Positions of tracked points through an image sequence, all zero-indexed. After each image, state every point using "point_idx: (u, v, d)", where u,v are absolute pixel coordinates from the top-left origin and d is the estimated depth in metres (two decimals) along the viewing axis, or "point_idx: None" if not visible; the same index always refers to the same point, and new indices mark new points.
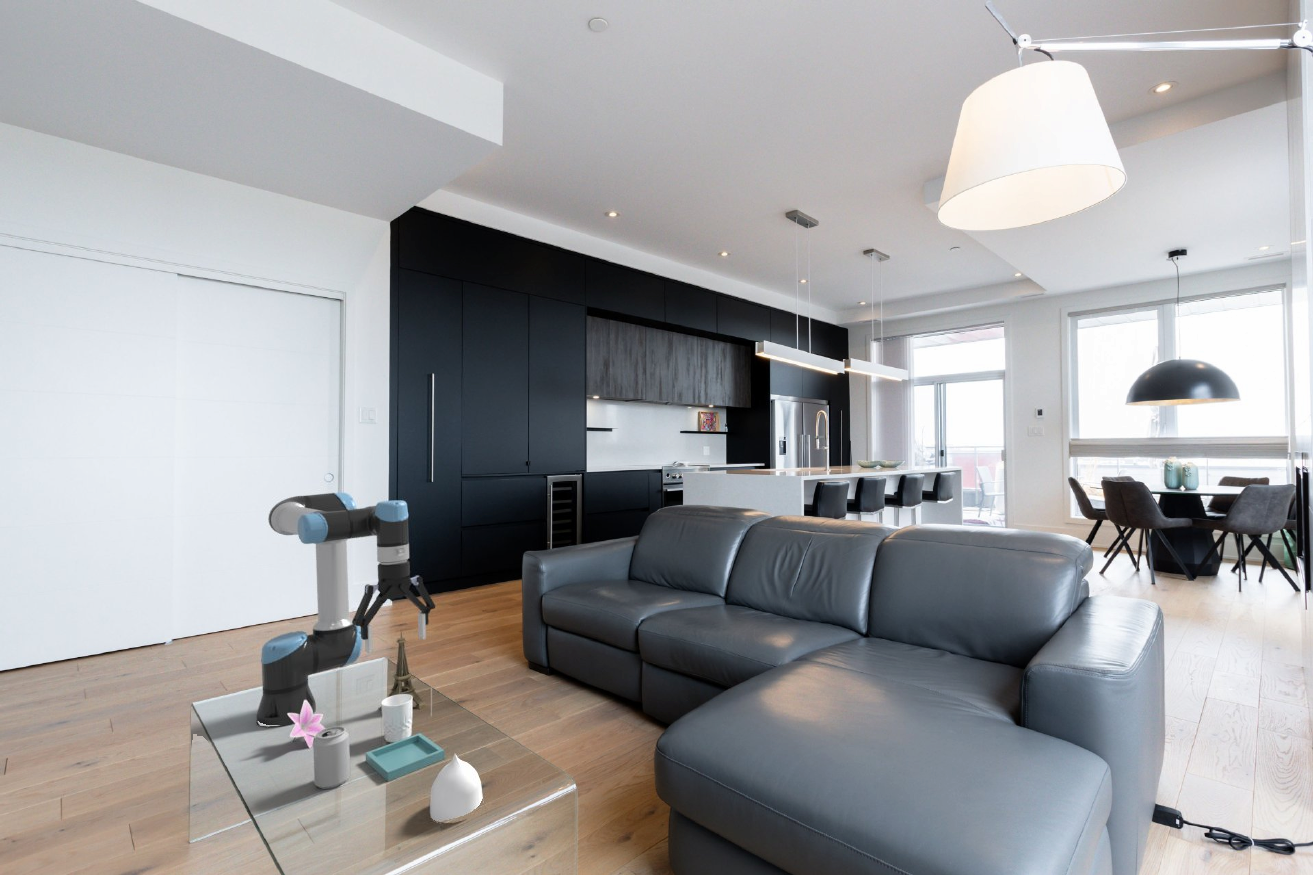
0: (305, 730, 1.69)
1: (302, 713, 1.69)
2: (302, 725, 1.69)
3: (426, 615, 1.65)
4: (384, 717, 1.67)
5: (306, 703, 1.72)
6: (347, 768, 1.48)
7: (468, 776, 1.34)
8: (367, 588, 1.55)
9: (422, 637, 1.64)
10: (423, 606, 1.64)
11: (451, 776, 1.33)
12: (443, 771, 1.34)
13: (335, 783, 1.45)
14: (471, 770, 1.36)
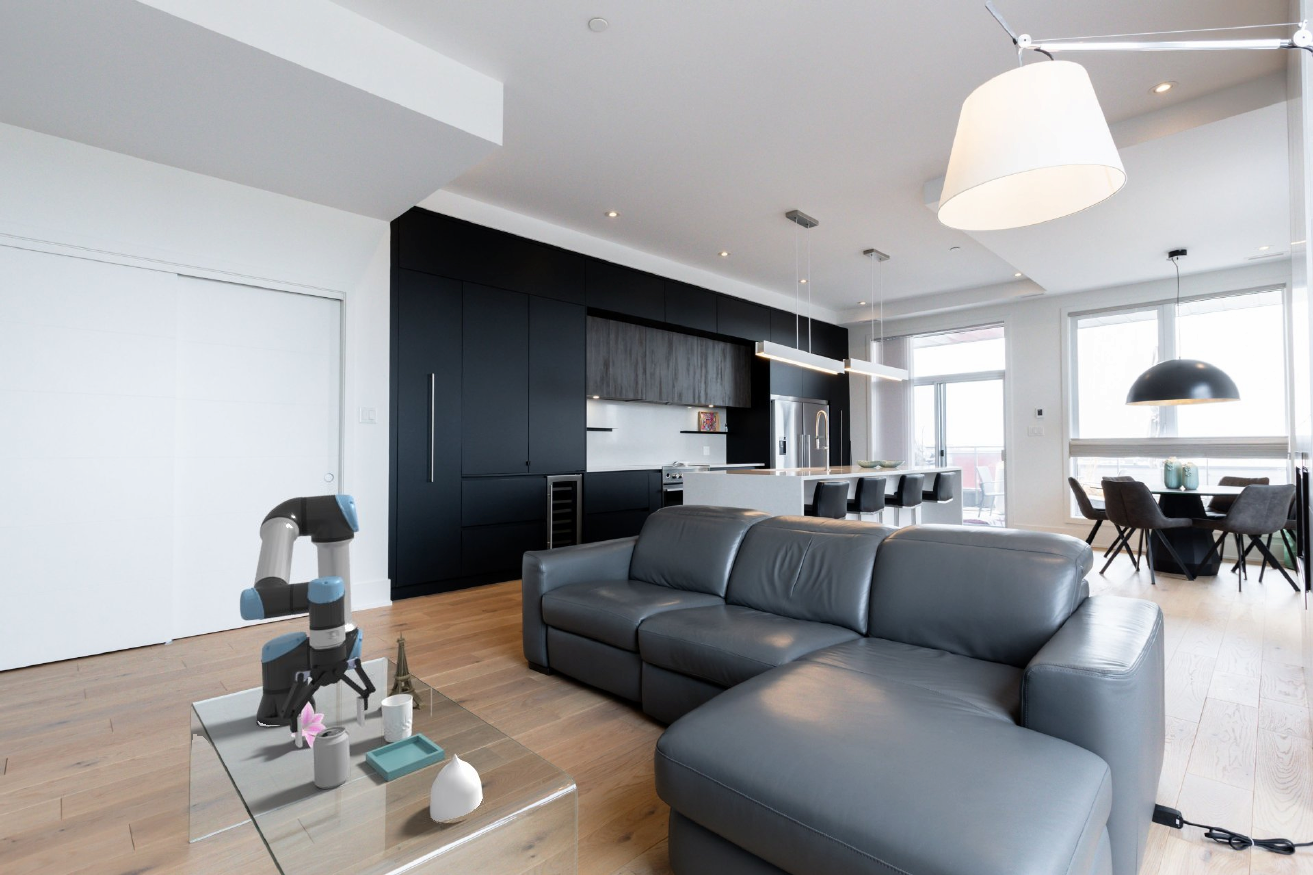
0: (306, 730, 1.69)
1: (303, 712, 1.69)
2: (303, 725, 1.69)
3: (365, 700, 1.53)
4: (384, 717, 1.67)
5: (307, 703, 1.72)
6: (347, 768, 1.48)
7: (468, 776, 1.34)
8: (297, 676, 1.43)
9: (360, 724, 1.51)
10: (362, 690, 1.52)
11: (451, 776, 1.33)
12: (443, 771, 1.34)
13: (335, 783, 1.45)
14: (471, 770, 1.36)
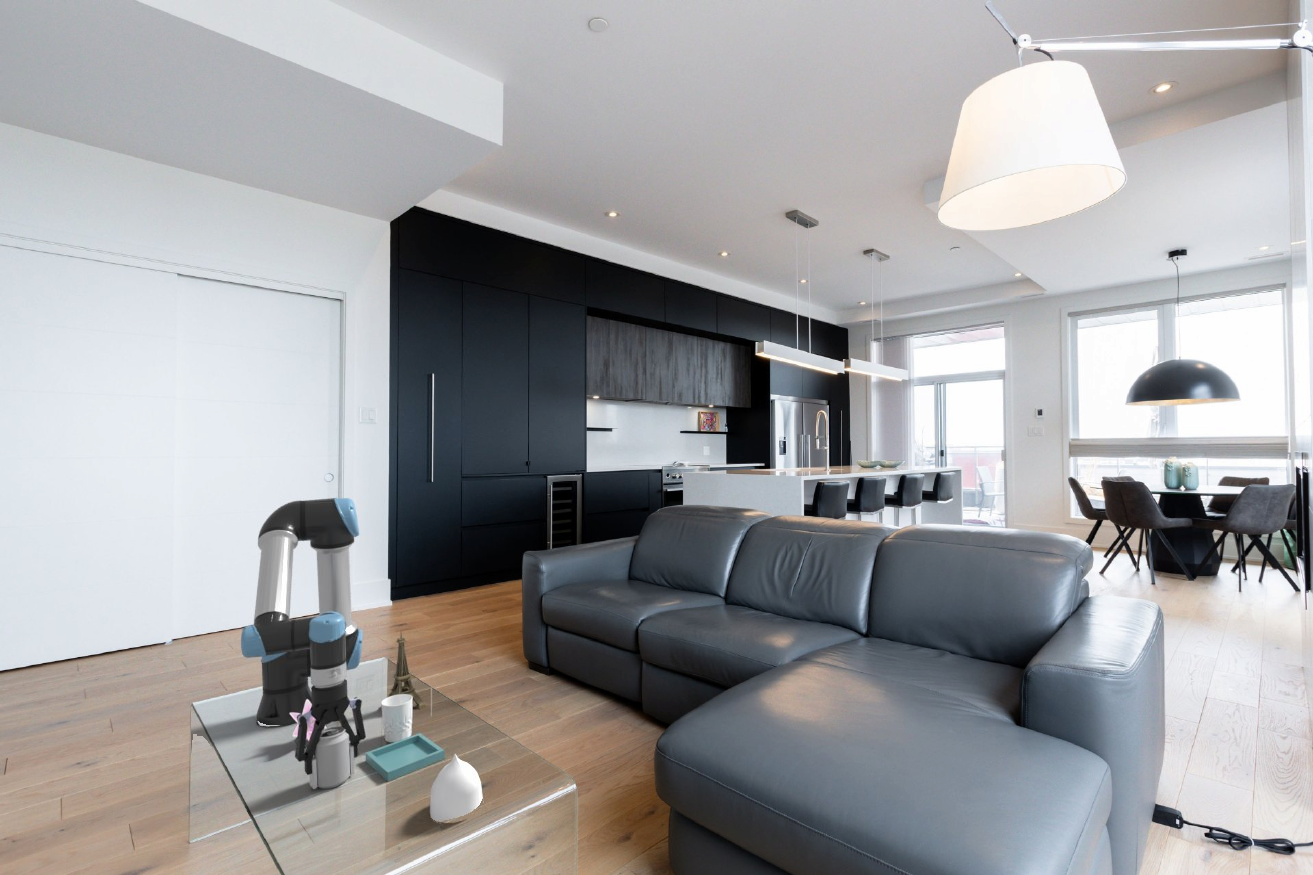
0: (307, 730, 1.69)
1: (304, 712, 1.69)
2: None
3: (355, 747, 1.51)
4: (384, 717, 1.67)
5: (308, 703, 1.72)
6: (347, 768, 1.48)
7: (468, 776, 1.34)
8: (299, 720, 1.43)
9: (350, 772, 1.50)
10: (353, 736, 1.50)
11: (451, 776, 1.33)
12: (443, 771, 1.34)
13: (335, 783, 1.45)
14: (471, 770, 1.36)
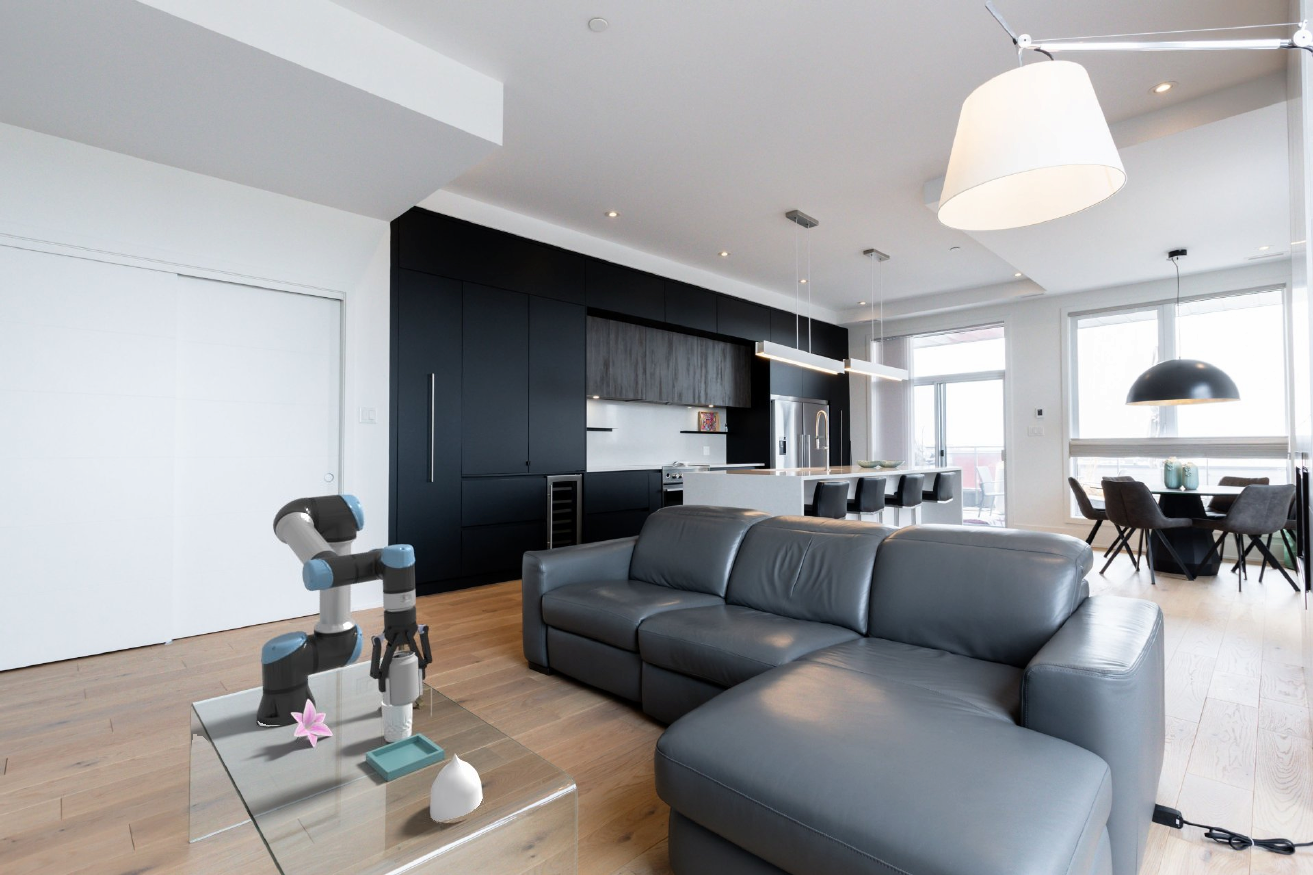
0: (308, 729, 1.69)
1: (305, 712, 1.69)
2: (305, 724, 1.69)
3: (423, 670, 1.60)
4: (384, 717, 1.67)
5: (309, 703, 1.72)
6: (417, 688, 1.57)
7: (468, 776, 1.34)
8: (374, 641, 1.52)
9: (419, 693, 1.59)
10: (421, 660, 1.59)
11: (451, 776, 1.33)
12: (443, 771, 1.34)
13: (407, 701, 1.54)
14: (471, 770, 1.36)
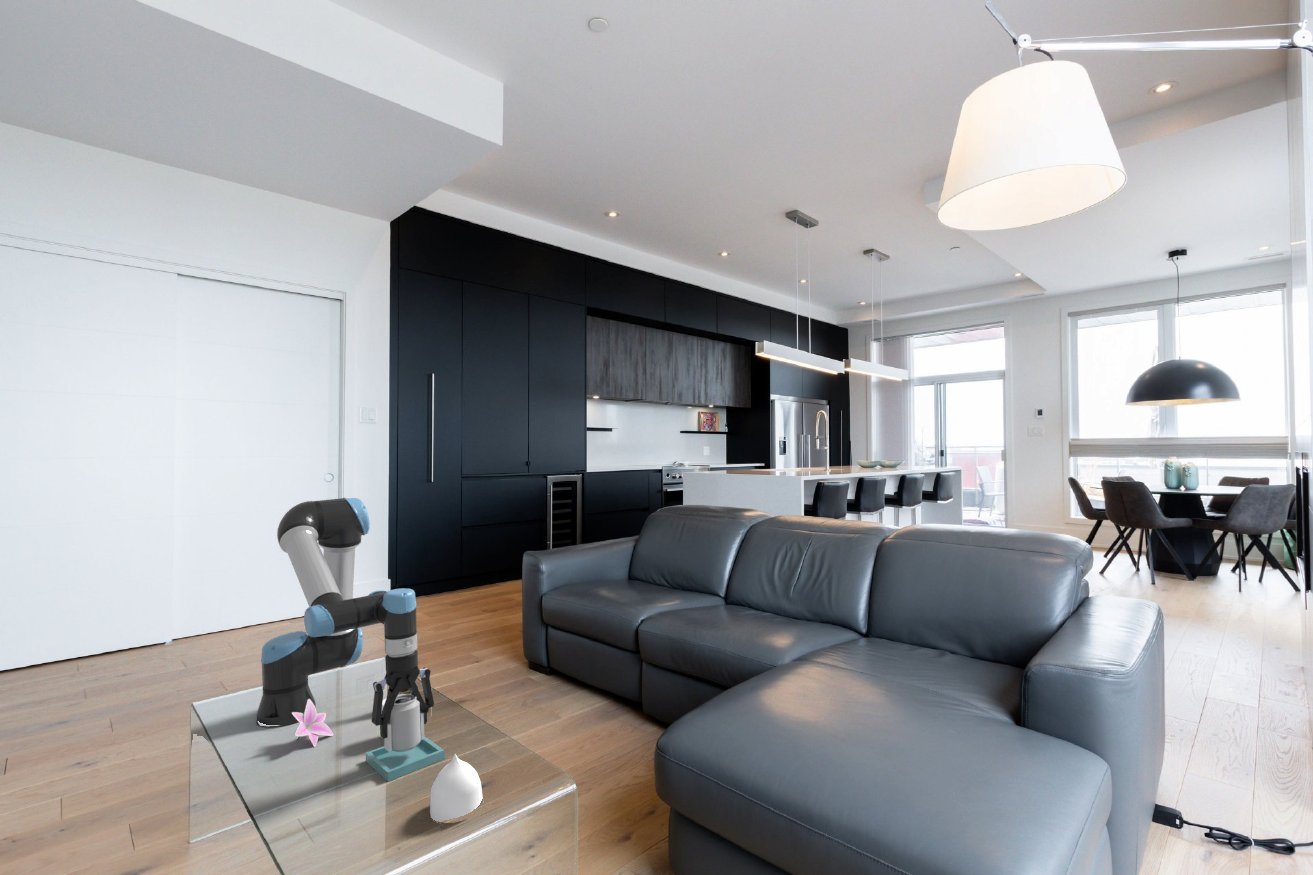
0: (309, 729, 1.69)
1: (306, 712, 1.69)
2: (306, 724, 1.69)
3: (424, 714, 1.60)
4: None
5: (310, 702, 1.72)
6: (419, 733, 1.57)
7: (468, 776, 1.34)
8: (375, 687, 1.52)
9: None
10: (423, 704, 1.59)
11: (451, 776, 1.33)
12: (443, 771, 1.34)
13: (409, 747, 1.54)
14: (471, 770, 1.36)
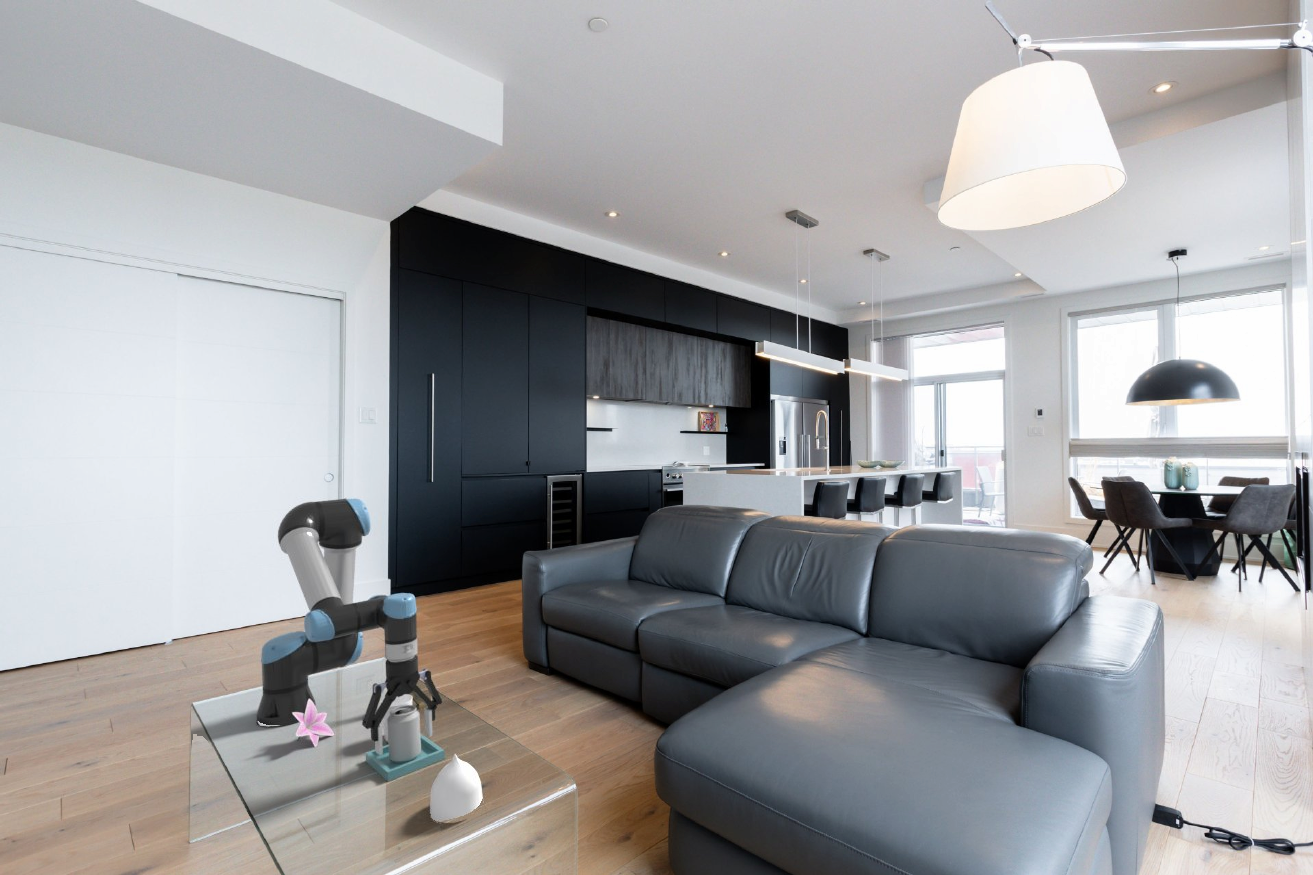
0: (310, 729, 1.69)
1: (306, 712, 1.70)
2: (307, 724, 1.70)
3: (433, 711, 1.62)
4: (384, 717, 1.67)
5: (310, 702, 1.72)
6: (419, 744, 1.57)
7: (468, 776, 1.34)
8: (375, 688, 1.52)
9: (429, 734, 1.61)
10: (430, 702, 1.61)
11: (451, 776, 1.33)
12: (443, 771, 1.34)
13: (409, 758, 1.54)
14: (471, 770, 1.36)
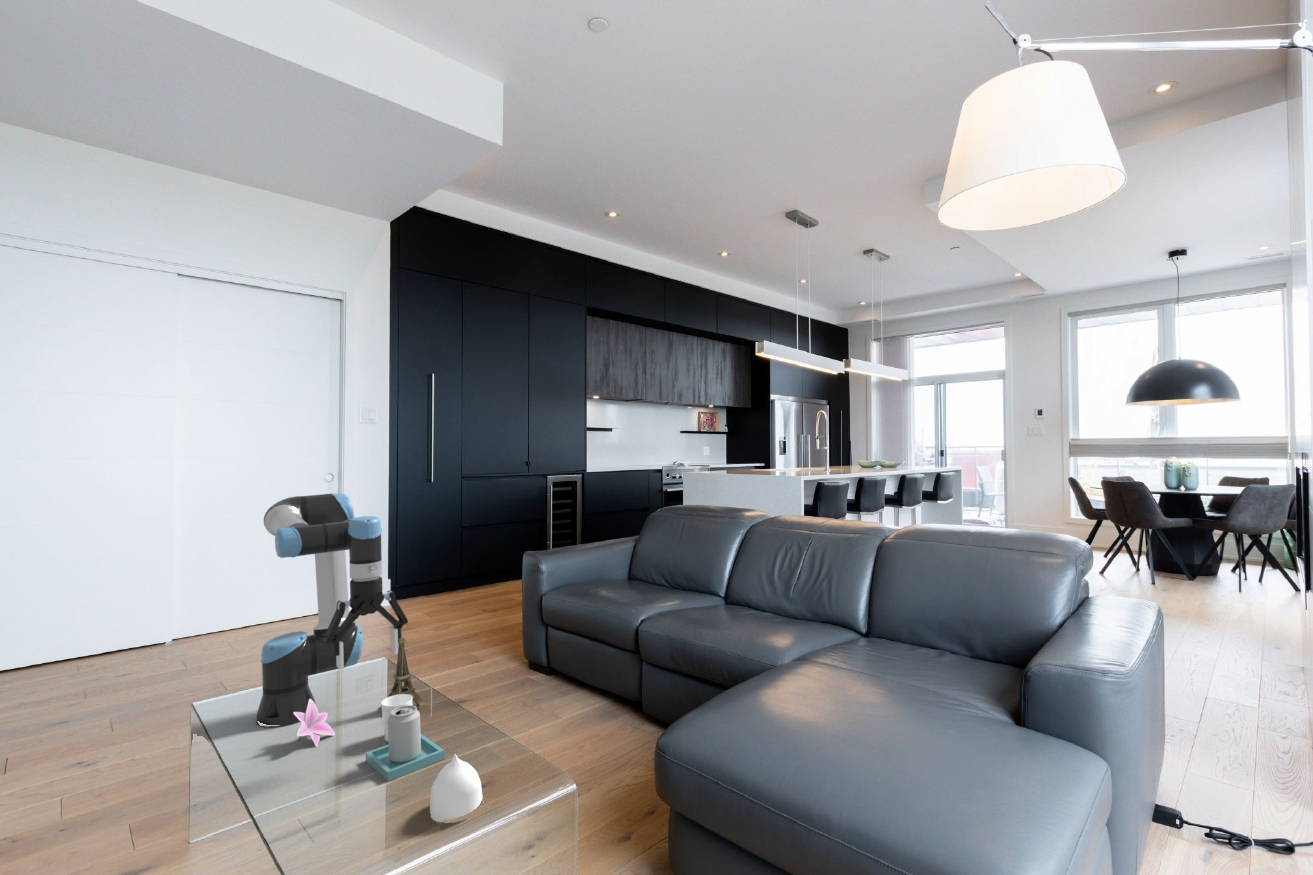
0: (311, 729, 1.69)
1: (307, 712, 1.70)
2: (308, 724, 1.70)
3: (398, 630, 1.66)
4: (384, 717, 1.67)
5: (311, 702, 1.72)
6: (419, 744, 1.57)
7: (468, 776, 1.34)
8: (339, 605, 1.55)
9: (394, 652, 1.65)
10: (395, 621, 1.65)
11: (451, 776, 1.33)
12: (443, 771, 1.34)
13: (409, 758, 1.54)
14: (471, 770, 1.36)
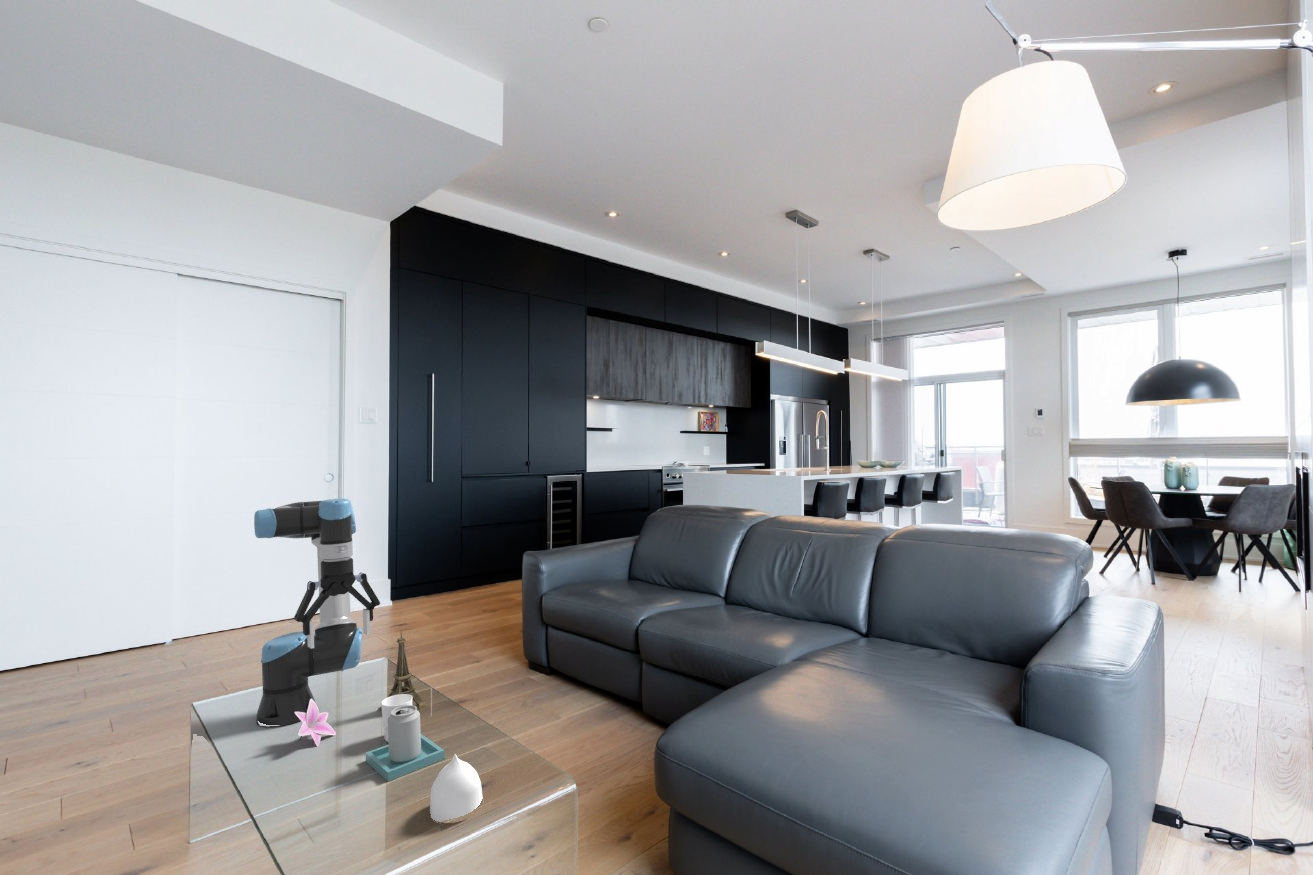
0: (312, 729, 1.69)
1: (308, 711, 1.70)
2: (309, 724, 1.70)
3: (370, 611, 1.68)
4: (384, 717, 1.67)
5: (312, 702, 1.73)
6: (419, 744, 1.57)
7: (468, 776, 1.34)
8: (309, 585, 1.58)
9: (366, 633, 1.67)
10: (367, 603, 1.67)
11: (451, 776, 1.33)
12: (443, 771, 1.34)
13: (409, 758, 1.54)
14: (471, 770, 1.36)
